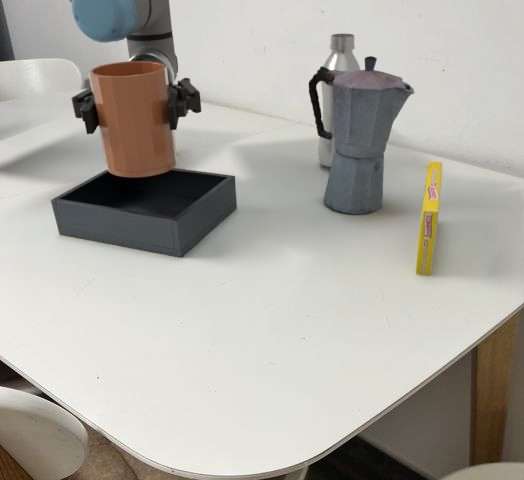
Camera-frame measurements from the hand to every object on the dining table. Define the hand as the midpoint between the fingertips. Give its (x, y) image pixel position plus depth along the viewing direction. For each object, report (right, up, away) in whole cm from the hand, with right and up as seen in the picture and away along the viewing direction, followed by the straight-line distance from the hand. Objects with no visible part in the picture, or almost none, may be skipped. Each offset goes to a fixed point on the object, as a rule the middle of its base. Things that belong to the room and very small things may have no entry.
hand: (130, 120), depth 70 cm
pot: (0, -3, +8) cm, 8 cm away
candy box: (+37, -15, +4) cm, 40 cm away
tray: (0, -9, +13) cm, 16 cm away
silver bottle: (+29, +4, +29) cm, 41 cm away
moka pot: (+29, -6, +16) cm, 34 cm away
